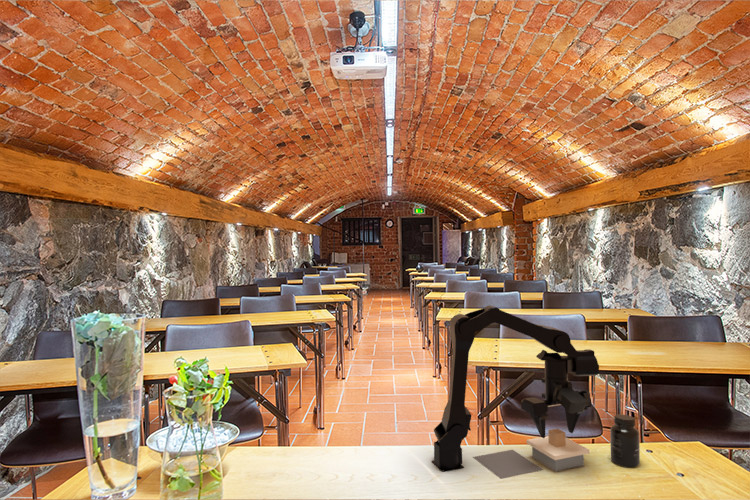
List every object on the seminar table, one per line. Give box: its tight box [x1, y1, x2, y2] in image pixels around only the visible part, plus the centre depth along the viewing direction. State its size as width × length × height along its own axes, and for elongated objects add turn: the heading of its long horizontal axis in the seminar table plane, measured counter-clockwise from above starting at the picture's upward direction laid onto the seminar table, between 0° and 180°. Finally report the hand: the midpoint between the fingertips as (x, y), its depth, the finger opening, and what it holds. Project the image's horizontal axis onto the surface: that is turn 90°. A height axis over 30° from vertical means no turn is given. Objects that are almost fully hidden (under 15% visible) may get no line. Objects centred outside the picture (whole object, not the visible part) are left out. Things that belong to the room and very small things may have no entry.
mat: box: [472, 449, 544, 479], centre depth 122 cm, size 13×13×1 cm
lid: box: [526, 428, 590, 460], centre depth 123 cm, size 11×11×4 cm
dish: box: [531, 446, 585, 473], centre depth 123 cm, size 9×9×4 cm
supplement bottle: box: [609, 413, 641, 468], centre depth 123 cm, size 7×7×12 cm
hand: (557, 435), depth 123 cm, fingers open, 9 cm apart
